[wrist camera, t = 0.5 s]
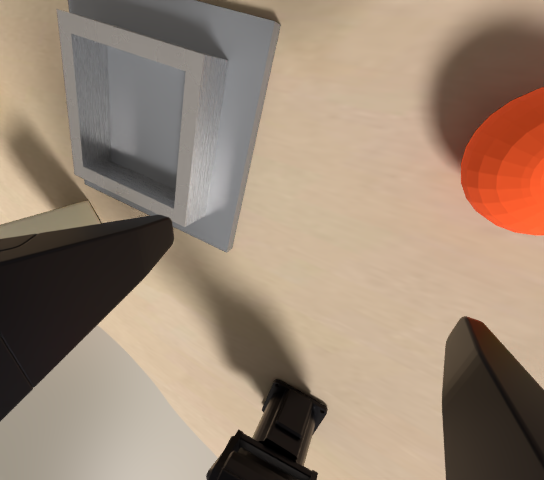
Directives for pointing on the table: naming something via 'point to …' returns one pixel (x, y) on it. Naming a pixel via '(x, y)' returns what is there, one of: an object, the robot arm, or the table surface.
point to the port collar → (96, 115)
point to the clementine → (509, 166)
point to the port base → (169, 98)
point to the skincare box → (52, 221)
